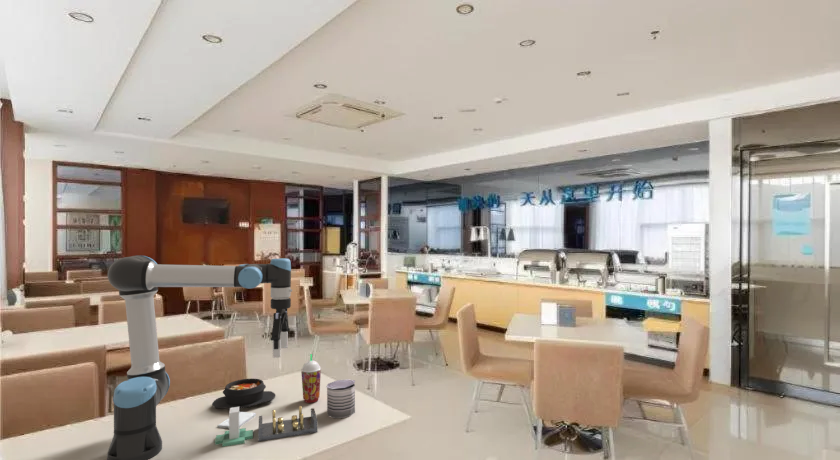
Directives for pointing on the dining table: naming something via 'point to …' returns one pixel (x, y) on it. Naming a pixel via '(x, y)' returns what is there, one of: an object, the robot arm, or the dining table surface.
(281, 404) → the dining table surface
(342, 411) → the can
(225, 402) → the casserole
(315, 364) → the smoothie
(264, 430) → the chassis
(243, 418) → the external hard drive
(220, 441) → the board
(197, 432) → the dining table surface
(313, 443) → the dining table surface
